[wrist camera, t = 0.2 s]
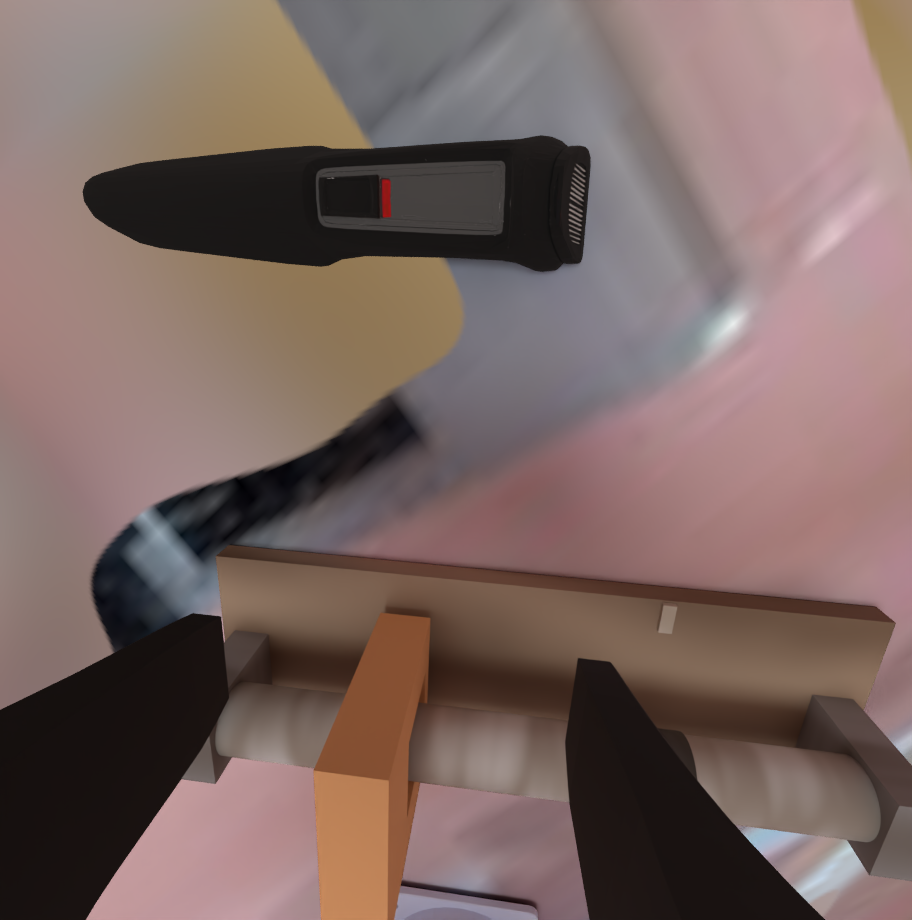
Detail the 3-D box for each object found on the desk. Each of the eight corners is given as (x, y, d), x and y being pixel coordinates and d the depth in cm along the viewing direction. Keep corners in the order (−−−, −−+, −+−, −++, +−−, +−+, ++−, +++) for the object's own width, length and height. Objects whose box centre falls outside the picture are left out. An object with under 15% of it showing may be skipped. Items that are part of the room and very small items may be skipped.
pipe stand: (807, 801, 22) (901, 956, 17) (247, 729, 24) (174, 845, 19) (876, 607, 19) (1016, 722, 14) (228, 545, 21) (136, 623, 16)
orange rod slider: (425, 755, 21) (387, 957, 15) (380, 749, 22) (322, 946, 15) (430, 617, 19) (388, 780, 13) (380, 612, 20) (313, 770, 13)
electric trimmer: (141, 151, 17) (62, 120, 14) (592, 147, 16) (609, 110, 13) (158, 266, 18) (88, 259, 15) (579, 274, 17) (593, 267, 14)
